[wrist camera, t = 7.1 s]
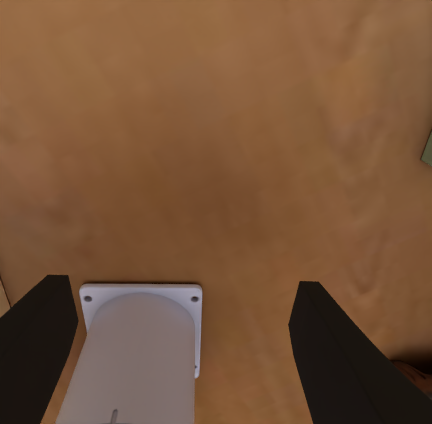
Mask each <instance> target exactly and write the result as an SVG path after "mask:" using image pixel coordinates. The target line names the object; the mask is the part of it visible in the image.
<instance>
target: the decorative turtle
mask: <svg viewBox="0 0 432 424" xmlns="http://www.w3.org/2000/svg"><path fill="white" fill-rule="evenodd" d="M391 363H392V364H393V365H394V366H395V367H396V368H397V369H398V370H400V371H401V372H402V373H403V374H404V375H405V376H406V377H407V378H408V379H409V380H410V381H411V382H412V383H413V384H415V385H416V386H417V387H418V388H419V389H420V390H421V391H422V392H424V393H425V394H426V395H427V396H428V397H429V398H430V399H431V400H432V375H428V374H424V373H422V372H420V371H419V370H417V369H415V368H414V367H412V366H410V365H408V364H406V363H404V362H403V361H392V362H391Z"/></svg>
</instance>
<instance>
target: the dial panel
mask: <svg viewBox="0 0 432 424" xmlns="http://www.w3.org/2000/svg"><path fill="white" fill-rule="evenodd" d="M421 160H422V161H424V162H425V163H427V164H429V165H430V166H432V131H431V134H430V137H429V139H428V142H427V145H426V148H425V150H424V153H423V156H422V159H421Z"/></svg>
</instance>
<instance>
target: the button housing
mask: <svg viewBox="0 0 432 424" xmlns="http://www.w3.org/2000/svg"><path fill="white" fill-rule="evenodd" d="M9 309H10V306H9V303H8V300H7V297H6V294H5V291H4V288H3V285H2V282H1V280H0V317H1V316H2V315H4V314H5V313H6V312H7V311H8V310H9Z"/></svg>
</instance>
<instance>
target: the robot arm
mask: <svg viewBox="0 0 432 424" xmlns="http://www.w3.org/2000/svg"><path fill="white" fill-rule="evenodd" d="M79 295H80V300H81V304H82V309H83V314H84V319H85V324H86V329H87V337H86V340H85V342H84V345H83V348H82V351H81V353H80V356H79V359H78V362H77V365H76V367H75V370H74V373H73V376H72V378H71V381H70V384H69V387H68V389H67V392H66V395H65V398H64V400H63V403H62V406H61V409H60V411H59V414H58V417H57V420H56V422H55V424H194V403H195V378H197V377H198V376H199V370H200V343H201V316H202V288H201V286H199V285H196V284H84V285H82V286H81V288H80V290H79ZM87 296H90V297H91V298H89V297H87ZM194 296H196V297H197V298H192V297H194ZM77 325H78V316H77V312H76V307H75V303H74V299H73V294H72V290H71V286H70V281H69V277H68V275H47V276H46V277H45V278H44V279H43V280H41V281H40V282H39V283H38V284H37V285H36V286H35V287H34V288H32V289H31V290H30V291H29V292H28V293H27V294H26V295H25V296H24V297H23V298H21V299H20V300H19V301H18V302H17V303H16V304H15V305H14V306H13V307H11V308H10V309H9V310H8V311H7V312H6V313H5V314H4V315H2V316H1V317H0V424H40V423H41V420H42V418H43V416H44V413H45V411H46V409H47V406H48V404H49V401H50V399H51V397H52V394H53V392H54V390H55V387H56V385H57V382H58V380H59V378H60V375H61V373H62V370H63V368H64V366H65V363H66V361H67V358H68V356H69V353H70V350H71V346H72V343H73V340H74V336H75V333H76V329H77ZM288 325H289V331H290V338H291V344H292V349H293V355H294V359H295V362H296V366H297V369H298V373H299V376H300V380H301V383H302V387H303V390H304V393H305V397H306V400H307V404H308V407H309V410H310V414H311V417H312V421H313V424H432V400H431V399H430V398H429V397H428V396H427V395H426V394H425V393H424V392H422V391H421V390H420V389H419V388H418V387H417V386H416V385H415V384H413V383H412V382H411V381H410V380H409V379H408V378H407V377H406V376H405V375H404V374H403V373H402V372H401V371H400V370H398V369H397V368H396V367H395V366H394V365H393V364H392V363H391V362H390V361H389V360H388V359H387V358H386V357H385V356H384V355H383V354H382V353H381V352H380V351H379V349H378V348H377V347H376V346H375V345H374V344H373V343H372V342H371V341H370V340H369V339H368V338H367V337H366V336H365V334H364V333H363V332H362V331H361V330H360V329H359V328H358V327H357V326H356V325H355V323H354V322H353V321H352V320H351V319H350V318H349V317H348V315H347V314H346V313H345V312H344V311H343V310H342V308H341V307H340V306H339V305H338V304H337V303H336V301H335V300H334V299H333V298H332V297H331V295H330V294H329V293H328V292H327V291H326V290H325V288H324V287H323V286H322V285H321V284H320V283H319V282H313V281H300V282H299V286H298V290H297V294H296V298H295V301H294V305H293V309H292V313H291V317H290V321H289V324H288Z"/></svg>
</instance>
